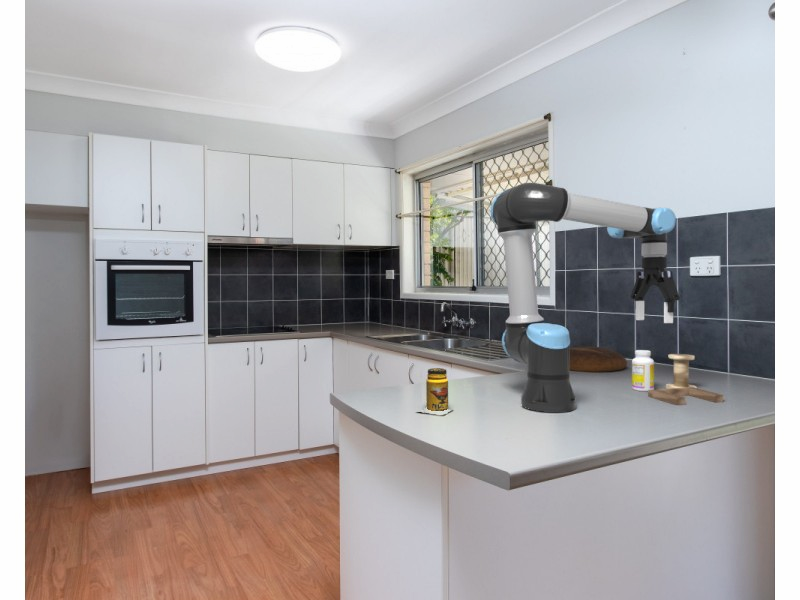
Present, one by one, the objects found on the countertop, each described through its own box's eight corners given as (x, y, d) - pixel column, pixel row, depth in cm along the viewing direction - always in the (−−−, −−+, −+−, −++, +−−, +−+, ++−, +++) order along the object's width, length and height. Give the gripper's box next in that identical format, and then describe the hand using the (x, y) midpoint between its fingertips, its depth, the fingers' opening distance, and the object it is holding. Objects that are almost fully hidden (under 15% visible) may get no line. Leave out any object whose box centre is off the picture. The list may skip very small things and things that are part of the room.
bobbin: (679, 393, 169) (679, 357, 168) (659, 387, 178) (659, 354, 177) (703, 391, 171) (703, 356, 170) (682, 386, 180) (682, 353, 179)
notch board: (676, 405, 153) (676, 398, 153) (648, 396, 165) (648, 389, 165) (723, 401, 156) (723, 394, 156) (692, 393, 168) (692, 387, 168)
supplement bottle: (649, 387, 177) (650, 349, 177) (657, 392, 171) (657, 352, 170) (628, 387, 178) (629, 349, 178) (635, 391, 172) (635, 352, 171)
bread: (593, 376, 202) (593, 353, 201) (541, 366, 226) (541, 345, 225) (642, 369, 216) (642, 347, 215) (589, 360, 239) (589, 341, 239)
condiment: (443, 416, 143) (442, 372, 143) (415, 413, 147) (414, 369, 147) (454, 410, 149) (453, 368, 149) (427, 407, 154) (426, 366, 153)
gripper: (692, 254, 163) (692, 323, 163) (639, 258, 187) (638, 318, 188) (671, 254, 161) (671, 324, 162) (620, 258, 185) (619, 319, 186)
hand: (653, 321), depth 175 cm, fingers open, 13 cm apart
